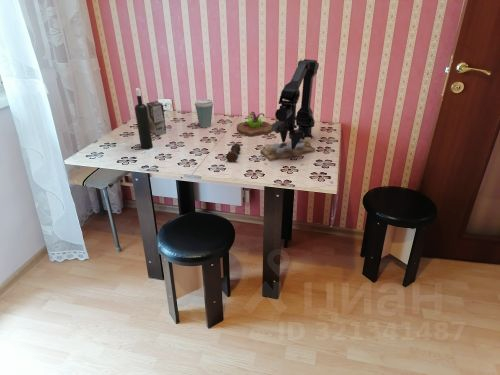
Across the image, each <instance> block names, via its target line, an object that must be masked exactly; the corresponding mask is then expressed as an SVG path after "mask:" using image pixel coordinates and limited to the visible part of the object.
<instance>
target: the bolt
mask: <svg viewBox="0 0 500 375" xmlns="http://www.w3.org/2000/svg"><path fill="white" fill-rule="evenodd" d="M241 149H242V148H241V144H239V143H234V144H232V146H231V148H230V151H228V152H227V154H226V156H225V159H226V160H227V162H229V163H236V162H237V160H238V159H239V154H240V152H241Z"/></svg>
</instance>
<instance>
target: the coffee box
mask: <svg viewBox="0 0 500 375" xmlns="http://www.w3.org/2000/svg"><path fill="white" fill-rule="evenodd" d="M145 105H146V106H147V111H148V118H149V124H150V131H151V133H153V134H154V135H155V136H159V135H164V134H167V125H166V117H165V111H164V104H162V103H161V102H159V101H156V100H155V101H152V102H145Z"/></svg>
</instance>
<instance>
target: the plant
mask: <svg viewBox="0 0 500 375" xmlns="http://www.w3.org/2000/svg"><path fill="white" fill-rule="evenodd" d="M256 115H257V116H256ZM261 115H262V117H266V116H265V114H264V113H263V112H262V113H259V114H256V113H255V111H250V112H249V116H252V117H253V118H252V117H249V118H248V119H247V120H246V121H243V122H239V123H238V124H236V131H237V133H239V134H241V136H246V137H249V138H250V137H252V138H253V137H257V136H258V137H259V136H264V135H269V134H272V132H274V131H273V129H272V126H271V125H272V124H271V123H269V122H267V121H264V120H262V118H261V117H260V116H261Z"/></svg>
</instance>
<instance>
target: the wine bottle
mask: <svg viewBox="0 0 500 375" xmlns="http://www.w3.org/2000/svg"><path fill="white" fill-rule="evenodd" d="M135 94H136V95H135V96H136V99H137V104H136V105H135V106H134V111H135V118H136V124H137V125H136V126H137V130H138V131H137V132H138V136H139V142H140V148H141V149H142V150H150V149H153V147H154V145H153V140H152V139H153V138H152V132H151V131H150V124H149V118H148V111H147V106H146V104H145V103H143V98H142V92H141V88H140V87H136V88H135Z"/></svg>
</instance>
